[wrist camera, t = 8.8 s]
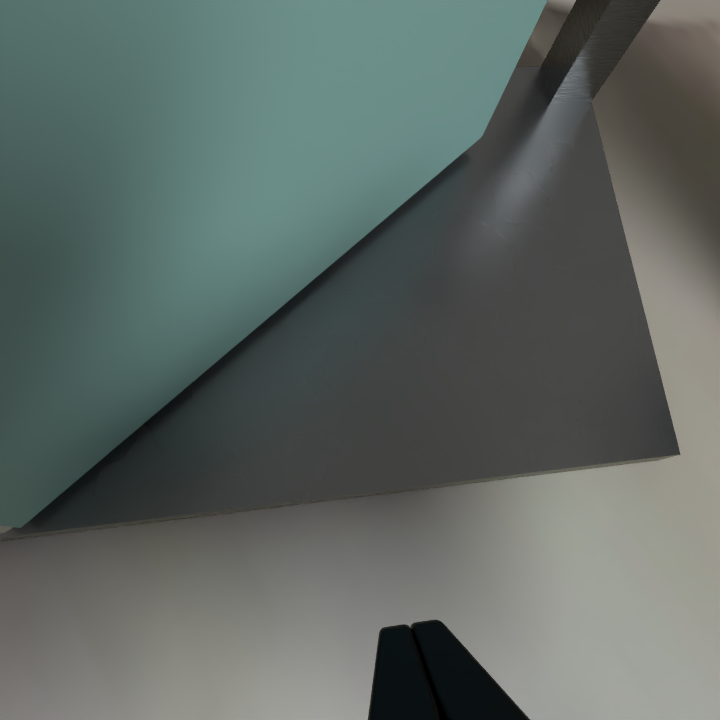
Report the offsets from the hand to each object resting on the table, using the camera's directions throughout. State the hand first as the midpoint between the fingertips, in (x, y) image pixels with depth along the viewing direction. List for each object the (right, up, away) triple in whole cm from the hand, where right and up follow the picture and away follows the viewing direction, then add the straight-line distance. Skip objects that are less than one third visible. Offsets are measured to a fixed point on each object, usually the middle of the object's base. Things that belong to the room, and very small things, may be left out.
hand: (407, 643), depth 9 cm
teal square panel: (-3, +5, +6) cm, 9 cm away
